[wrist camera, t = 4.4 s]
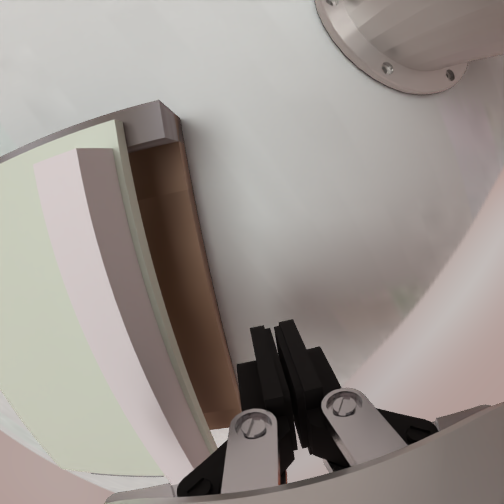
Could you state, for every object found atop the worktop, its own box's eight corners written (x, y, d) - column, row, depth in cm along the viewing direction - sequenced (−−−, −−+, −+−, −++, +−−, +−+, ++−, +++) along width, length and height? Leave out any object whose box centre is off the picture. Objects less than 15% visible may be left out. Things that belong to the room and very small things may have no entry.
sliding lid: (122, 121, 10) (79, 109, 7) (222, 459, 16) (226, 511, 13) (-62, 201, 10) (-111, 219, 6) (65, 459, 16) (51, 499, 12)
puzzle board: (179, 118, 16) (159, 99, 10) (242, 402, 23) (250, 466, 17) (-45, 200, 16) (-100, 219, 9) (45, 413, 22) (23, 460, 16)
